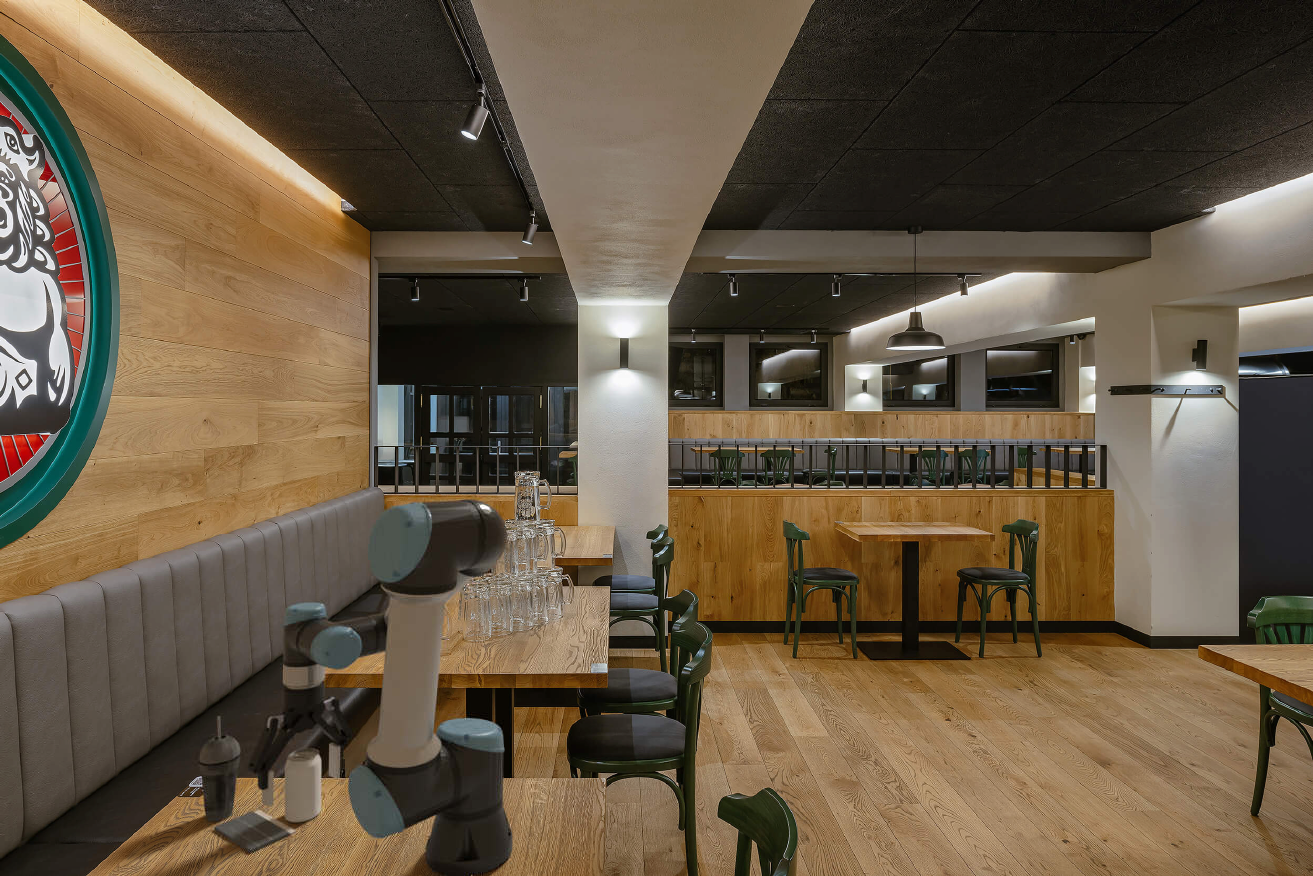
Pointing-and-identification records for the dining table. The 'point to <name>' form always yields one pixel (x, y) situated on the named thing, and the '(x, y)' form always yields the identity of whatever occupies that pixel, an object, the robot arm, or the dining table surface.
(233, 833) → the dark grey flat slab
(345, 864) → the dining table surface
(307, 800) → the can
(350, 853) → the dining table surface
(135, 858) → the dining table surface
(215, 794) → the beverage cup
